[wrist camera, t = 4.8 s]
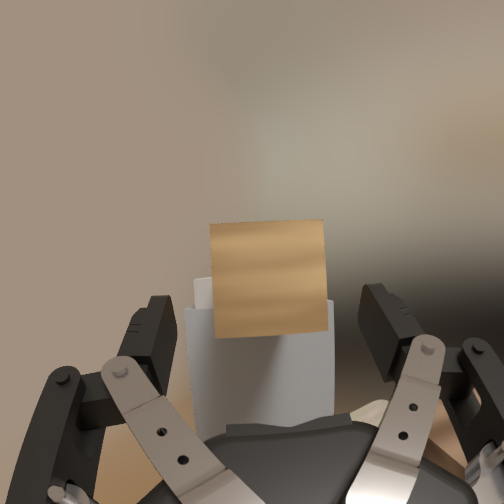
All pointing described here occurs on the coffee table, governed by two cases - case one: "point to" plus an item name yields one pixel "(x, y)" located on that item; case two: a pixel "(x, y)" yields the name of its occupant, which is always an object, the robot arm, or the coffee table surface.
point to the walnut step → (446, 443)
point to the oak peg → (268, 278)
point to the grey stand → (255, 372)
